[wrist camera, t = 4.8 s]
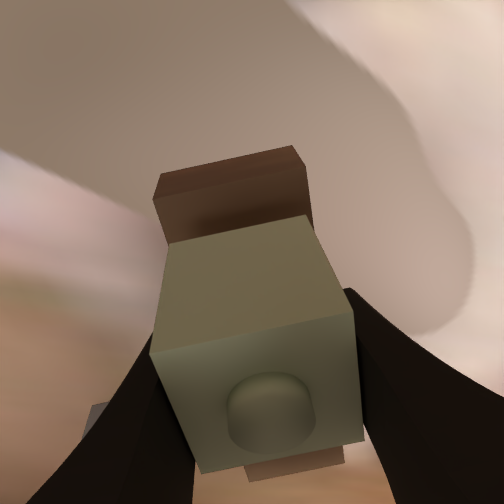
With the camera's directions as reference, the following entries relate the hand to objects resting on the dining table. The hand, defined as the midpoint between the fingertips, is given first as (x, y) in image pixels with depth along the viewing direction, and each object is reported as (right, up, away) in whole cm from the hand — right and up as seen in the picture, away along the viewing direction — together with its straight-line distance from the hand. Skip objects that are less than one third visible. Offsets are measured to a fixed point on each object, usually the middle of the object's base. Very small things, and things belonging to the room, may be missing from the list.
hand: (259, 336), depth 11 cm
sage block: (0, +1, +2) cm, 2 cm away
